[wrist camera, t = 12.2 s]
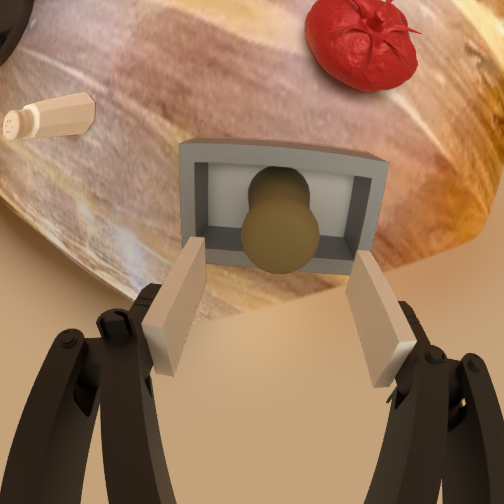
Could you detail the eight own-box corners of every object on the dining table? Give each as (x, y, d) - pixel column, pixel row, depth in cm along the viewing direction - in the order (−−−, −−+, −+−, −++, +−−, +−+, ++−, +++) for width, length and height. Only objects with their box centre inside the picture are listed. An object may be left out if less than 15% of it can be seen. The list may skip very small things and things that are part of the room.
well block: (349, 246, 30) (363, 276, 24) (199, 233, 30) (183, 261, 25) (366, 151, 25) (389, 162, 20) (198, 136, 26) (179, 143, 20)
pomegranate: (348, 111, 23) (382, 112, 15) (279, 34, 20) (281, -1, 12) (416, 65, 20) (468, 54, 11) (353, -10, 17) (382, -49, 8)
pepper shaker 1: (58, 104, 24) (-10, 116, 14) (90, 82, 23) (19, 84, 13) (69, 143, 26) (2, 166, 16) (102, 123, 25) (32, 139, 15)
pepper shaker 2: (237, 178, 26) (214, 221, 17) (297, 155, 25) (311, 184, 15) (262, 232, 29) (254, 299, 19) (318, 212, 27) (340, 271, 18)
